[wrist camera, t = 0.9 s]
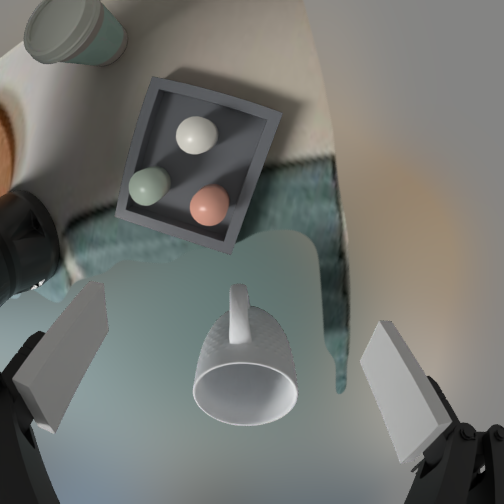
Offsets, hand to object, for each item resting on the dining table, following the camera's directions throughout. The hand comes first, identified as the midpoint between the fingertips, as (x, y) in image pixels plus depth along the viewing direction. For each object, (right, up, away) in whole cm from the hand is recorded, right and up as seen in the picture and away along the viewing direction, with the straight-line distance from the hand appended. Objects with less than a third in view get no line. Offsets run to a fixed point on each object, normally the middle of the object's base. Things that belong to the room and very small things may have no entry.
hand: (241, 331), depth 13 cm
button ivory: (-5, +15, +15) cm, 22 cm away
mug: (0, -5, +26) cm, 27 cm away
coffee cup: (-17, +29, +12) cm, 36 cm away
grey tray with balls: (-6, +14, +18) cm, 24 cm away
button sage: (-10, +11, +17) cm, 22 cm away
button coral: (-4, +9, +18) cm, 20 cm away
